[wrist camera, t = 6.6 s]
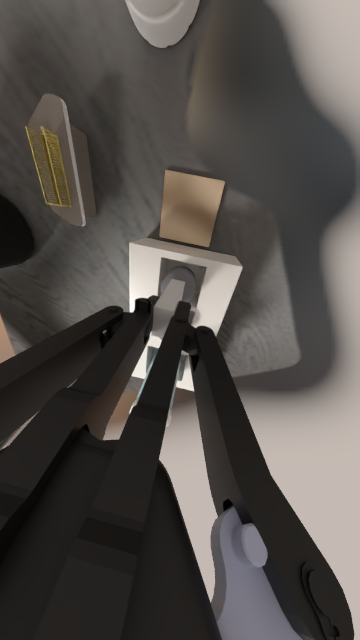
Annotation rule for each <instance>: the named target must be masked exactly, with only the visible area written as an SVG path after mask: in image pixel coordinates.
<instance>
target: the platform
mask: <svg viewBox="0 0 360 640" xmlns="http://www.w3.org/2000/svg"><path fill="white" fill-rule="evenodd" d="M28 126H29V127H27V126H25V128H26V131H27V135H28V139H29V143H30V146H31V150H32V154H33V157H34V161H35V165H36V169H37V172H38V176H39V180H40V183H41V187H42V191H43V195H44V198H45V202H46V204H49V205H50V207H51V209H52V211H53V212H54V213H56V214H57V215H59V216H60V217H62V218H63V219H65V220H66V221H68V222H69V223H70V224H72V225H75V226H85V225H86V220H85V216H97V212H96V204H95V197H94V189H93V181H92V174H91V166H90V158H89V151H88V143H87V135H86V134H85V133H83V132H82V131H80V130H79V129H77V128H76V127H75V126H73V125H72V124H70V123H69V118H68V112H67V106H66V104H65V102H64V101H63V100H62V99H61V98H60V97H59V96H57V95H54V94H44V95H43V96H42V98H41V100H40V102H39V103H38V105H37V107H36V109H35V111H34V112H33V114H32V116H31V118H30V120H29V122H28ZM27 128H29V130H28V129H27ZM28 131H29V132H30V133H31V134H30V133H28ZM29 134H30V135H31V136H29ZM30 137H31V138H32V139H30ZM31 140H32V141H33V142H31ZM31 143H33V145H32V144H31ZM48 144H49V145H48ZM32 146H34V148H33V147H32ZM48 146H49V147H48ZM33 149H35V151H34V150H33ZM49 149H50V150H49ZM52 149H53V150H52ZM51 150H52V152H51ZM33 151H34V152H35V153H36V154H35V153H34V152H33ZM50 153H51V154H50ZM34 154H35V155H36V156H35V155H34ZM52 154H53V155H52ZM54 155H56V156H54ZM51 156H53V157H55V158H57V159H55V158H53V157H51ZM35 157H37V159H35ZM51 158H52V159H55V160H57V161H60V165H59V164H56V163H53V162H52V161H54V160H51ZM36 160H38V162H37V161H36ZM57 161H54V162H57ZM36 162H37V163H38V164H37V163H36ZM52 163H53V164H56V165H58V166H61V167H62V168H61V167H58V166H56V165H53V164H52ZM57 163H59V162H57ZM37 165H39V167H38V166H37ZM53 166H54V167H53ZM55 167H57V168H55ZM38 168H40V169H38ZM58 168H60V169H58ZM55 169H56V170H55ZM61 169H63V170H61ZM39 170H40V172H39ZM54 170H55V173H54ZM58 170H59V171H58ZM57 171H58V174H56V173H57ZM61 171H62V173H61ZM39 173H41V174H39ZM59 174H61V175H59ZM40 175H42V177H41V178H42V179H41V178H40ZM55 175H58V176H61V177H58V176H55ZM63 175H64V176H63ZM55 177H58V178H61V179H65V183H64V182H60V181H56V179H57V178H55ZM62 177H64V178H62ZM41 180H43V183H44V184H42V181H41ZM57 180H60V179H57ZM61 181H64V180H61ZM56 182H60V183H64V184H66V185H64V184H60V183H56ZM57 184H59V185H57ZM42 185H44V186H42ZM60 185H63V186H60ZM57 186H58V187H57ZM64 186H66V188H67V189H66V191H67V192H63V191H65V190H64V188H65V187H64ZM43 187H45V191H44V189H43ZM60 187H62V188H61V190H62V191H58V190H60V189H59V188H60ZM44 192H46V193H44ZM59 192H62V193H68V194H62V193H59ZM45 194H46V195H45ZM59 194H62V195H68V197H69V201H68V202H70V203H68V204H70V205H63V204H61V203H64V202H61V201H65V200H61V199H60V196H61V195H59ZM45 196H47V198H48V200H47V201H48V202H47V201H46V197H45ZM63 197H67V196H63ZM62 199H67V198H62Z"/></svg>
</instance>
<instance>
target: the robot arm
mask: <svg viewBox="0 0 360 640" xmlns="http://www.w3.org/2000/svg"><path fill="white" fill-rule="evenodd" d="M184 286H185V282H184V281H180V280H175V279H171V281H170V282H169V284H168V285H167V287H166V289H165V290H164V292H163V293H162V295H161V296H155V295H152V296H150V297H149V298H148V299H147V298H137V299H136V300H135V310H134V311H133V312H123V309H122V308H121V307H119V306H109V307H106V308H104V309H102V310H101V311H99V312H97V313H95V314H93V315H91V316H89V317H87V318H85V319H84V320H82V321H80V322H78V323H76V324H74V325H72V326H70V327H69V328H67V329H65V330H63V331H61V332H59V333H57V334H55V335H53V336H52V337H50V338H48V339H46V340H44V341H42V342H40V343H38V344H36V345H35V346H33V347H31V348H29V349H27V350H25V351H23V352H21V353H19V354H18V355H16V356H14V357H12V358H10V359H8V360H6V361H4V362H2V363H1V364H0V640H354V629H353V624H352V617H351V612H350V609H349V606H348V603H347V600H346V598H345V595H344V592H343V589H342V587H341V586H340V584H339V582H338V580H337V578H336V576H335V574H334V573H333V571H332V569H331V568H330V566H329V565H328V563H327V561H326V560H325V558H324V557H323V555H322V554H321V552H320V550H319V549H318V548H317V546H316V544H315V543H314V541H313V540H312V538H311V537H310V535H309V534H308V532H307V530H306V529H305V527H304V526H303V524H302V523H301V521H300V520H299V518H298V516H297V515H296V514H295V512H294V510H293V509H292V507H291V506H290V504H289V503H288V501H287V499H286V498H285V496H284V495H283V493H282V492H281V490H280V489H279V487H278V486H277V484H276V483H275V481H274V480H273V478H272V476H271V474H270V472H269V469H268V467H267V464H266V462H265V459H264V457H263V454H262V452H261V449H260V447H259V444H258V442H257V439H256V437H255V434H254V432H253V429H252V427H251V424H250V422H249V419H248V417H247V414H246V412H245V409H244V407H243V404H242V402H241V399H240V397H239V394H238V392H237V389H236V387H235V384H234V382H233V379H232V377H231V374H230V372H229V369H228V367H227V364H226V362H225V359H224V357H223V354H222V352H221V349H220V347H219V344H218V341H217V339H216V336H215V334H214V332H213V330H212V329H211V328H209V327H207V326H198V327H197V328H195V327H193V326H191V325H190V324H189V322H188V319H189V314H190V309H191V305H190V303H188V302H183V301H182V296H183V291H184ZM104 330H106V332H105V333H103V331H104ZM151 331H152V333H151ZM150 333H151V335H152V336H156V337H160V338H163V339H162V342H161V344H160V347H159V349H158V352H157V354H156V357H155V359H154V362H153V364H152V367H151V369H150V372H149V374H148V377H147V379H146V382H145V384H144V387H143V389H142V392H141V395H140V397H139V400H138V402H137V404H136V405H135V406H134V407H133V408H132V410H131V412H130V415H129V417H128V419H127V422H126V424H125V427H124V429H123V431H122V434H121V436H120V439H119V440H103V437H104V434H105V430H106V426H107V424H108V421H109V419H110V417H111V415H112V413H113V411H114V409H115V407H116V405H117V403H118V401H119V399H120V397H121V395H122V393H123V391H124V389H125V387H126V385H127V383H128V381H129V379H130V377H131V375H132V373H133V371H134V369H135V367H136V365H137V363H138V361H139V359H140V357H141V355H142V353H143V351H144V349H145V347H146V345H147V343H148V341H149V338H150ZM182 350H183V351H184V352H186V353H188V354H189V362H190V368H191V375H192V381H193V387H194V393H195V399H196V406H197V412H198V418H199V424H200V430H201V437H202V443H203V449H204V455H205V461H206V468H207V474H208V480H209V484H210V490H211V494H212V498H213V502H214V505H215V509H216V512H217V515H218V518H217V519H216V520H215V522H214V524H213V527H212V531H211V550H212V556H213V561H214V567H215V588H214V595H213V599H212V602H211V603H210V600H209V597H208V594H207V591H206V588H205V585H204V582H203V579H202V575H201V572H200V569H199V566H198V563H197V560H196V557H195V553H194V550H193V547H192V544H191V541H190V538H189V535H188V532H187V529H186V525H185V522H184V519H183V516H182V513H181V510H180V507H179V504H178V500H177V497H176V494H175V491H174V488H173V485H172V482H171V479H170V477H169V474H168V473H167V471H166V469H165V467H164V465H163V464H162V463H161V461H160V460H159V455H160V450H161V446H162V441H163V436H164V431H165V427H166V423H167V418H168V412H169V407H170V403H171V398H172V393H173V389H174V384H175V380H176V375H177V370H178V366H179V361H180V356H181V352H182ZM77 378H78V379H77ZM76 379H77V380H76ZM75 380H76V381H75ZM74 381H75V383H74V384H73V385H72V386H71V387H69V388H67V387H68V386H69V385H70V384H71V383H73V382H74ZM39 410H40V411H39ZM38 411H39V412H38ZM37 412H38V413H37ZM36 413H37V414H36ZM35 414H36V416H35V417H34V418H33V419H32V420H31V421H30V422H29V423H28V425H27V426H26V427H25V428H24V429H23V430H22V431H21V433H20V434H19V435H18V436H17V437H16V438H15V439H14V440H13V442H12V443H11V444H10V445H9V446H7V447H6V448H4V449H2V447H3V446H4V445H5V444H6V443H7V442H8V441H9V440H10V439H11V437H12V436H13V435H14V434H15V433H16V432H17V431H18V430H19V429H20V427H21V426H22V425H23V424H24V423H25V422H26V421H28V420H29V419H30V418H31V417H32V416H34V415H35ZM1 449H2V450H1Z"/></svg>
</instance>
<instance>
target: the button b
mask: <svg viewBox="0 0 360 640" xmlns="http://www.w3.org/2000/svg"><path fill="white" fill-rule="evenodd" d="M171 279H175V280H180V281H184V282H185V286H184V291H183V296H182V301H183V302H188V303H189V302H190V301H191V299H192V298H193V295H194V290H195V286H196V276H195V274H194V272H193V271H192V270H191V269H190V268H188V267H185V266H177V267H175V268H173V269H172V270H171V271H170V272H169V273H168V275H167V276H166V277H165V279H164V280H163V281H162V284H161V294H162V293H163V292H164V290H165V289H166V287H167V285H168V284H169V282H170V281H171Z"/></svg>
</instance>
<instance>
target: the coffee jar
mask: <svg viewBox="0 0 360 640" xmlns="http://www.w3.org/2000/svg"><path fill="white" fill-rule="evenodd" d="M32 251H33V237H32V233H31V230H30V228H29V226H28V224H27V222H26V220H25V219H24V217H23V216H22V215H21V213H20V212H19V211H18V210H17V208H16V207H15V206H13V205H12V204H11V203H10V202H9V201H8V200H7V199H5V198H4V197H2V196H1V195H0V268H4V267H9V266H13V265H17V264H21V263H23V262H25V261H26V260H27V259H28V258H29V257H30V255H31V253H32Z"/></svg>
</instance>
